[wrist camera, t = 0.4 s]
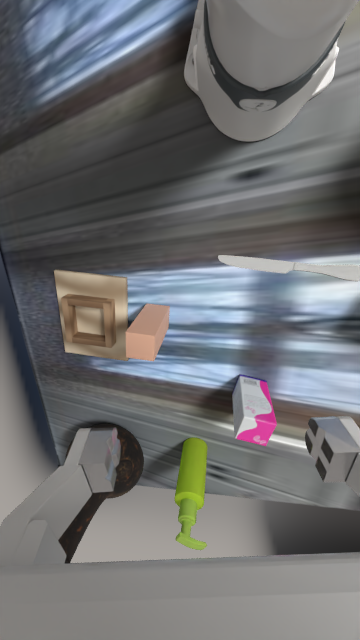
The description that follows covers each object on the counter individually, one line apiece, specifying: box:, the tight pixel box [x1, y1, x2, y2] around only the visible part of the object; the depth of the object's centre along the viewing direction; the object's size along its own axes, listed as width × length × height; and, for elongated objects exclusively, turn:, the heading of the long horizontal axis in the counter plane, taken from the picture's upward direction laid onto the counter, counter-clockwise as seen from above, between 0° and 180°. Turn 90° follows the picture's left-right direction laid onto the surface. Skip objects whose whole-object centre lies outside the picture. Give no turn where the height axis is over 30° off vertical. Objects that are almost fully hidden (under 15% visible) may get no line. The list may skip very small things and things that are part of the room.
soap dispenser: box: [175, 438, 207, 550], centre depth 55 cm, size 6×7×20 cm
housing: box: [54, 270, 129, 361], centre depth 51 cm, size 18×14×3 cm
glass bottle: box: [58, 424, 144, 564], centre depth 55 cm, size 18×18×28 cm
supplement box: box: [232, 374, 277, 446], centre depth 49 cm, size 6×6×12 cm
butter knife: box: [218, 255, 360, 281], centre depth 43 cm, size 1×24×3 cm
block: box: [126, 304, 170, 361], centre depth 45 cm, size 4×4×12 cm
